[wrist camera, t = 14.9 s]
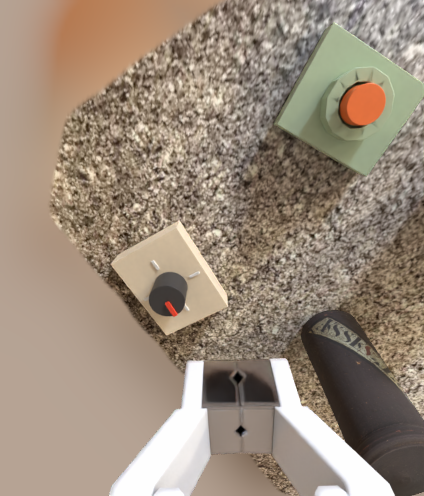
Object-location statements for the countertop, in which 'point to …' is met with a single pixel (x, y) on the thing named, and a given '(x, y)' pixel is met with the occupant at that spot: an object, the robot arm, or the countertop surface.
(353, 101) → the stop button
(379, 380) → the container
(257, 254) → the countertop surface
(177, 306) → the timer knob
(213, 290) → the panel
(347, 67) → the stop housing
